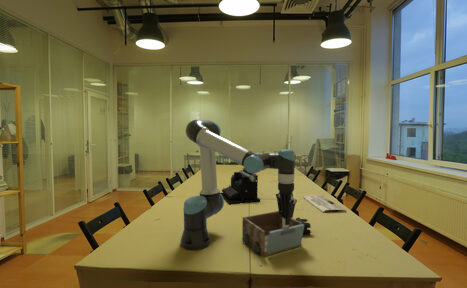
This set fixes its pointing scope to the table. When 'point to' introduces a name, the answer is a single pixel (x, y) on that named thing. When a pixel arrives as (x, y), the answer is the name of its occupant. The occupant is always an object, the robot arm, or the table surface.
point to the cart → (263, 230)
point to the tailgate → (284, 238)
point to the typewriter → (241, 188)
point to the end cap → (306, 226)
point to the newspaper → (323, 203)
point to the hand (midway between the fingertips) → (285, 230)
